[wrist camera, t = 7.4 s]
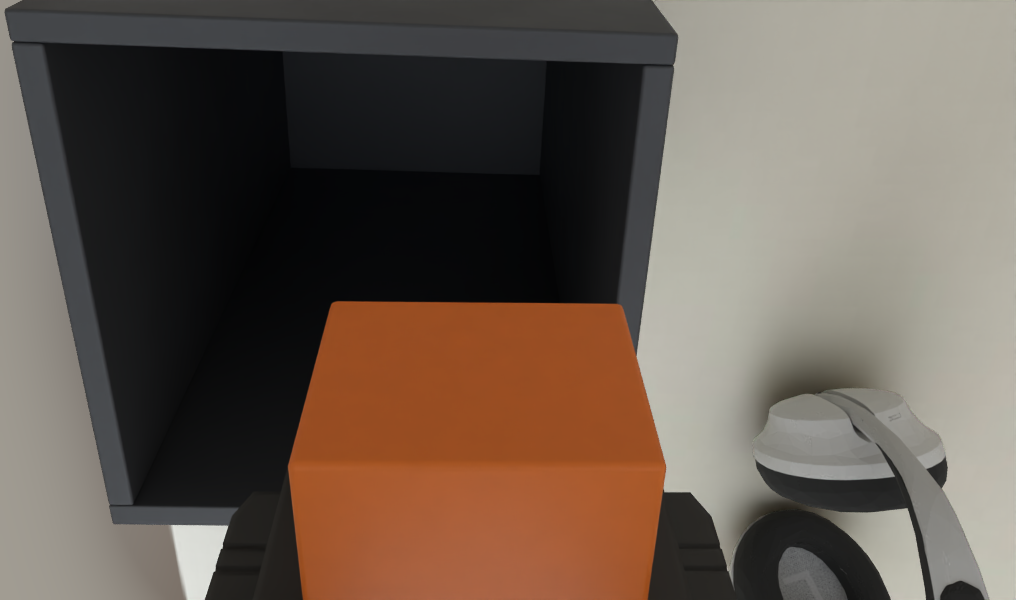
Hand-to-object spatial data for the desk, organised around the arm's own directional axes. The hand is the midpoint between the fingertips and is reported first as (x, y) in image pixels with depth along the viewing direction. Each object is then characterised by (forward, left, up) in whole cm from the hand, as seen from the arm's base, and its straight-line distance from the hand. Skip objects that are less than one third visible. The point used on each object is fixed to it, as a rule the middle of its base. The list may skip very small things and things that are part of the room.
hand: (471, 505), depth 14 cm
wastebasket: (0, -2, -29) cm, 29 cm away
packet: (0, 0, 0) cm, 0 cm away
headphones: (+23, +19, -29) cm, 42 cm away
